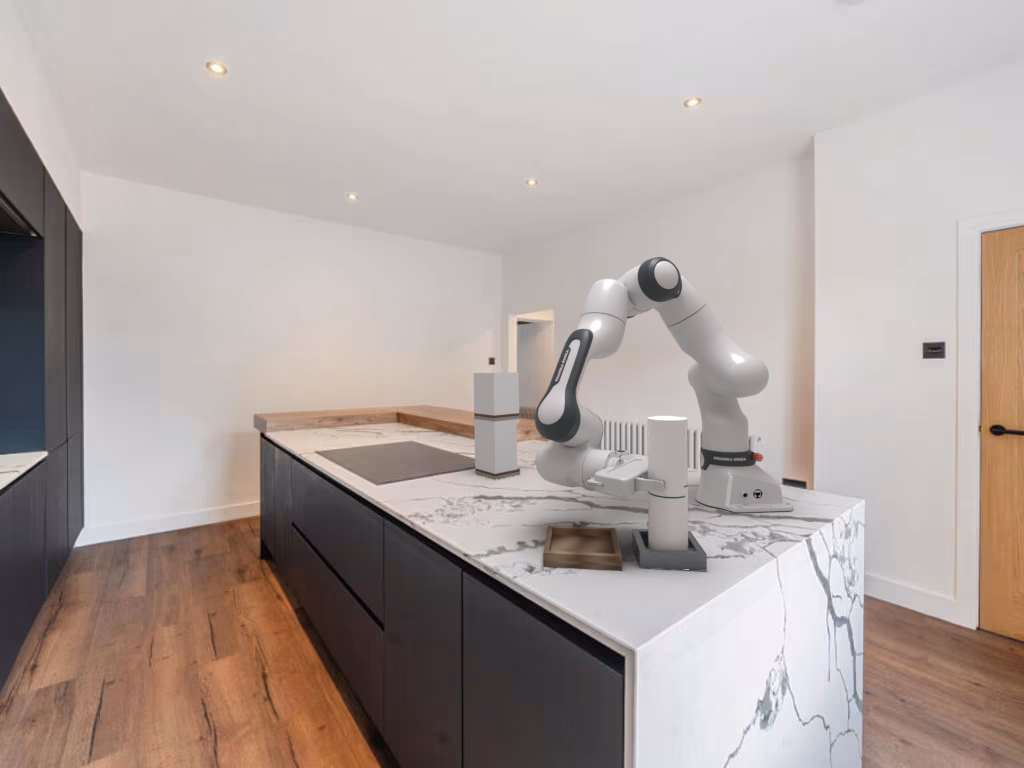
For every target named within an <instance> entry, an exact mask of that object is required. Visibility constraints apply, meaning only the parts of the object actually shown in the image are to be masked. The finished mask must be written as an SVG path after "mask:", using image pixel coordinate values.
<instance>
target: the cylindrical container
mask: <svg viewBox="0 0 1024 768" xmlns="http://www.w3.org/2000/svg"><path fill="white" fill-rule="evenodd" d="M646 419H647V420H646V421H647V423H646V424H647V425H646V426H647V427H646V428H647V456H648V479H650V480H655V479H659V480H664V481H665V482H666V484H665V486H666V488H665V489H664V490H663V491H654V490H653V491H647V516H648V517H647V518H648V519H647V520H648V521H647V523H648V525H647V526H648V527H647V528H648V545H649V546H648V549H653V550H676V551H688V531H689V489H688V487H689V476H688V475H689V471H688V469H689V468H688V467H689V462H688V459H689V458H688V456H689V453H688V451H689V449H688V448H689V447H688V443H689V442H688V436H689V435H688V417H684V416H676V415H675V416H674V415H654V416H648V417H647V418H646Z"/></svg>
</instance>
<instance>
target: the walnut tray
mask: <svg viewBox="0 0 1024 768" xmlns="http://www.w3.org/2000/svg"><path fill="white" fill-rule="evenodd" d="M546 530H547V531H546V535H545V541H544V547H543V550H542V551H543V552H542V553H543V555H542V558H543V559H542V560H543V561H542V563H543V564H542V565H543V567H546V566H548V568H549V567H550V568H551V567H552V568H569V569H589V570H591V569H592V570H606V571H607V570H611V571H622V570H623V555H622V552H621V548H620V543H619V539H618V535H617V530H616V528H615V527H613V528H612V527H591V526H589V527H586V526H566V525H565V526H561V525H547V529H546Z"/></svg>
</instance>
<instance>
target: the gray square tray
mask: <svg viewBox="0 0 1024 768" xmlns="http://www.w3.org/2000/svg"><path fill="white" fill-rule="evenodd" d="M631 544H632V547H633V550H635V551H634V554H635V553H636V554H635V555H636V556H637V557H636V556H635V557H636V560H637V563H638V567H639V568H640V569H650V568H663V569H662V570H670V569H689V570H688V571H690V570H707V571H708V567H707V566H708V563H707V561H708V560H707V559H708V554H707V552H705V550H704V548H703V547H702V546H701V545H700V543H699V541H698V540H697V539H696V537H695V535H694V534H693V533H692V531H691V530H688V551H676V550H653V549H649V548H646V547H649V545H648V529H646V528H645V529H643V528H632V529H631Z"/></svg>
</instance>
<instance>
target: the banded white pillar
mask: <svg viewBox="0 0 1024 768" xmlns="http://www.w3.org/2000/svg"><path fill="white" fill-rule="evenodd" d="M519 375H520V373H519V372H513V371H511V372H505V371H504V372H473V409H474V410H473V411H474V412H473V419H474V425H473V427H474V472H475V473H474V474H475V475H477V474H479V475H478V476H480V475H482V476H481V477H483V476H485V477H484V478H487V477H488V478H487V479H490V478H492V479H491V480H493V479H495V481H497V480H496V479H498V480H502V479H501V478H503V479H506V477H507V478H511V477H510V476H512V477H516V476H515V475H517V476H521V469H520V468H518V430H517V429H518V428H517V427H518V426H517V425H518V424H520V382H519V381H520V380H519V379H520V377H519Z"/></svg>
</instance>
